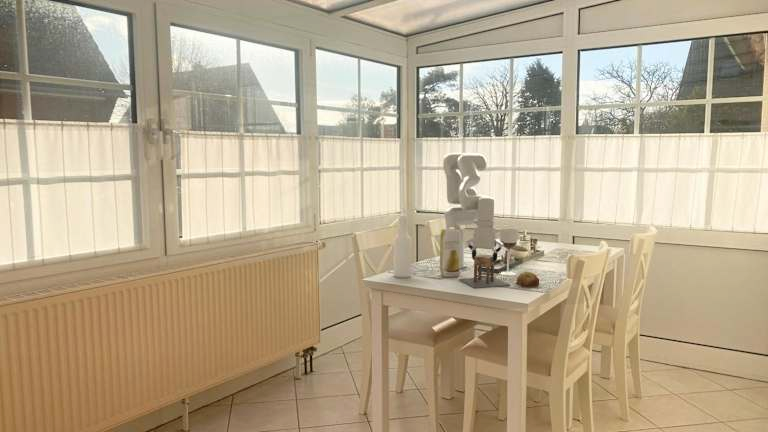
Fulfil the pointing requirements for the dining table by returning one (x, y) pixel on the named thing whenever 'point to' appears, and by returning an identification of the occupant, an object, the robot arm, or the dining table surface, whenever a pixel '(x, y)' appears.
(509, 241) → the wineglass
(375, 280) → the dining table surface
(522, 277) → the bread roll
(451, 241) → the juice carton
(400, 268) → the alcohol
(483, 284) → the mat
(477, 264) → the stool
